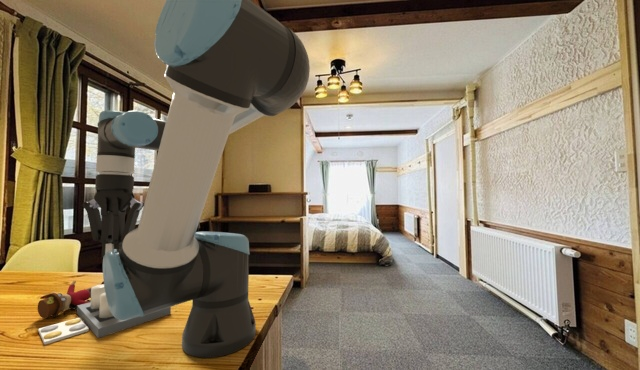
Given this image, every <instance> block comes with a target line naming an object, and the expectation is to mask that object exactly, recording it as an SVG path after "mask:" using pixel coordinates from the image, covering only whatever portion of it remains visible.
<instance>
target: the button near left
mask: <svg viewBox="0 0 640 370" xmlns="http://www.w3.org/2000/svg"><path fill="white" fill-rule="evenodd" d="M99 317H100V318H108V317H113V315H112V313H111V311H110V309H109V306H108V302H107V298H106V293H102V294H101V295H100V310H99Z"/></svg>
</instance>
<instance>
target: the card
mask: <svg viewBox="0 0 640 370" xmlns="http://www.w3.org/2000/svg"><path fill="white" fill-rule="evenodd" d="M89 330H90V328H89V327H88V326H87V325H86V323H85V322H84V321H83V320H82V319H81V318H80V317H77V318H73V319H69V320H68V319H67V320H66V321H65V320H64V321H62V322H58V323H55V324H51V325H47V326H43V327H40V328H38V333H39V336H40V338H41V340H42V343H43V344H44V346H46V345H49V344H52V343H55V342H59V341H62V340H64V339H65V340H66V339H68V338H71V337H74V336H77V335H80V334H85V333H87V332H89Z"/></svg>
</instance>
